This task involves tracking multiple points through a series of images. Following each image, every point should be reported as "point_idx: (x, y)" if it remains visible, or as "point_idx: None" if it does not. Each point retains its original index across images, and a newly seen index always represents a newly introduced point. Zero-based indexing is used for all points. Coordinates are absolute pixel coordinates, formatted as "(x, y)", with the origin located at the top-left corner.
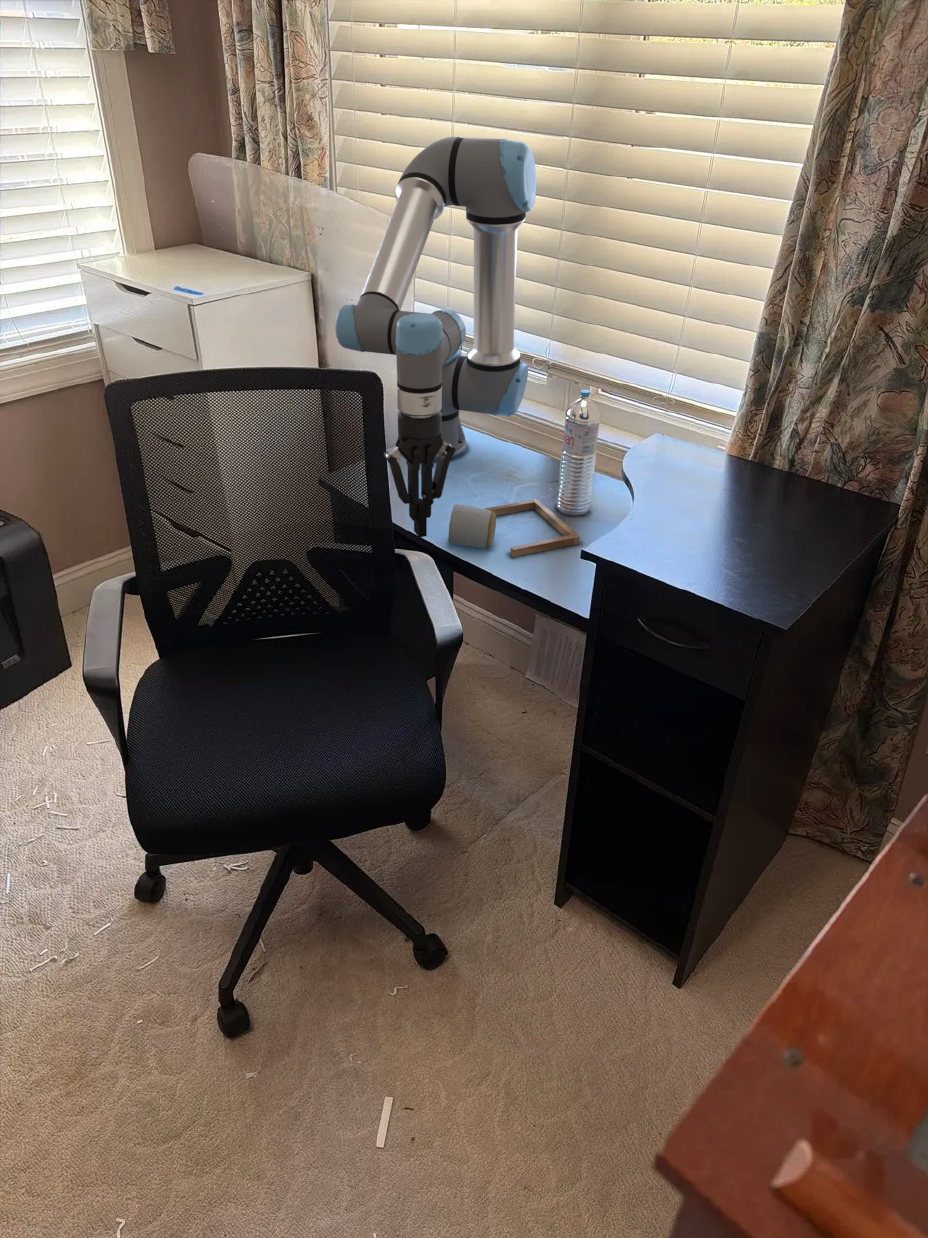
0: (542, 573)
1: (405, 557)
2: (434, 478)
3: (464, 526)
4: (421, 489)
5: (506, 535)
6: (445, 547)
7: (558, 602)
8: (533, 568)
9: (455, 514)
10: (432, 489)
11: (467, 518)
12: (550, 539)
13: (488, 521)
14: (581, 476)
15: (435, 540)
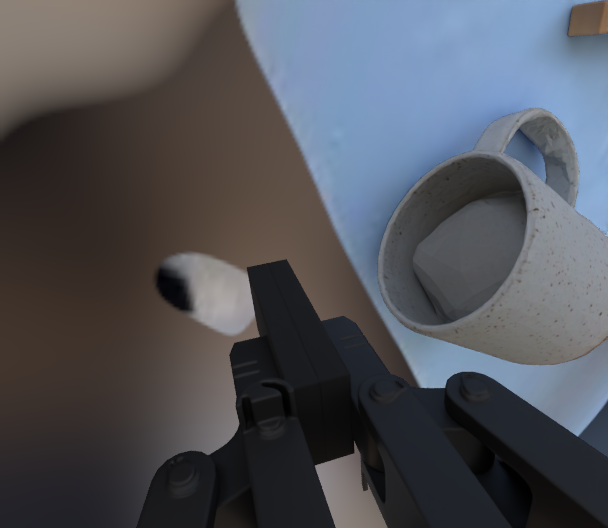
0: (531, 404)
1: (185, 294)
2: (563, 515)
3: (465, 347)
4: (382, 450)
5: (578, 199)
6: (357, 244)
7: None
8: (527, 384)
9: (474, 332)
10: (466, 434)
11: (504, 350)
12: None
13: (561, 362)
14: None
15: (339, 182)
